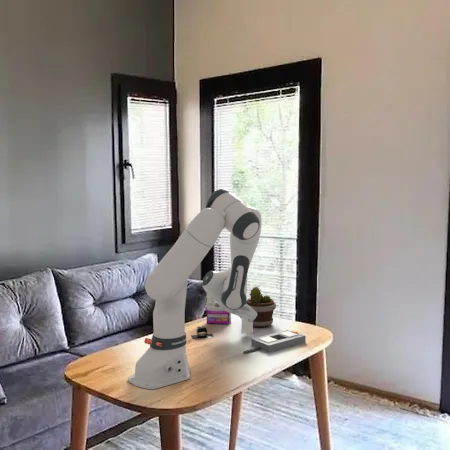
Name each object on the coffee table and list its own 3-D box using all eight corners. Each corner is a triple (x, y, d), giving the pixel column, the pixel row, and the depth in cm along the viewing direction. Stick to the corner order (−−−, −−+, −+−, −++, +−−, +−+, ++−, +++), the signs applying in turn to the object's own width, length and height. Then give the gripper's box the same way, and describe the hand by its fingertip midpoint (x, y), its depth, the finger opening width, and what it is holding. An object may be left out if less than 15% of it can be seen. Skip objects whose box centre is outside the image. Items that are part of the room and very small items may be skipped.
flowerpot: (259, 319, 256) (258, 278, 254) (283, 325, 244) (282, 282, 242) (237, 325, 246) (237, 283, 244) (261, 332, 235) (260, 287, 233)
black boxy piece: (214, 334, 235) (214, 324, 234) (217, 339, 228) (217, 328, 227) (186, 336, 232) (186, 326, 232) (189, 341, 225) (189, 330, 225)
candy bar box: (231, 321, 252) (230, 288, 250) (229, 324, 247) (229, 290, 246) (208, 321, 254) (207, 287, 252) (206, 323, 249) (205, 289, 247)
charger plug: (247, 334, 226) (247, 316, 225) (241, 332, 229) (241, 314, 228) (252, 333, 228) (252, 314, 227) (247, 330, 231) (246, 313, 230)
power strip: (252, 357, 202) (252, 348, 202) (234, 350, 211) (234, 341, 210) (305, 342, 219) (305, 333, 218) (287, 336, 227) (287, 328, 227)
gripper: (248, 299, 214) (267, 318, 221) (219, 290, 231) (238, 308, 237) (240, 311, 212) (259, 330, 219) (211, 302, 229) (230, 320, 235)
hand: (248, 319), depth 228 cm, fingers closed on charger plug, 4 cm apart
